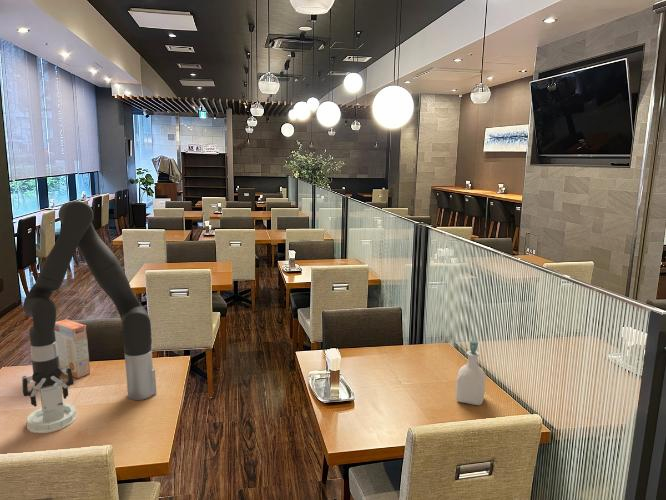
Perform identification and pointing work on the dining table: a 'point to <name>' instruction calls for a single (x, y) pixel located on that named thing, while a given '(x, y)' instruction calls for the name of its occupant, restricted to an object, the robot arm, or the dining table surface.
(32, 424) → the dish
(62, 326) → the cracker box
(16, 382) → the dining table surface
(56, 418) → the skincare box
